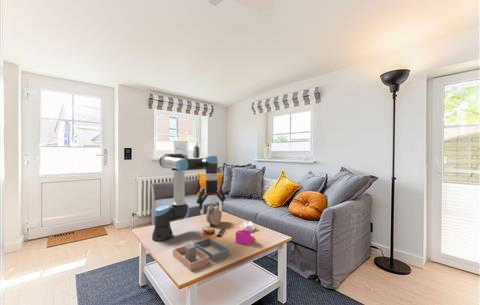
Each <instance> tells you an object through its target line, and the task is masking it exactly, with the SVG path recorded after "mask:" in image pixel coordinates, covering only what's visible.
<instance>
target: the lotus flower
mask: <svg viewBox="0 0 480 305" xmlns="http://www.w3.org/2000/svg"><path fill="white" fill-rule="evenodd" d="M238 226H239V227H240V229H241V230H243V229H249V230H251V232H253V231H254V230H256V227H255V225H254V223H253V222H252V221H250V220H247V219H244V220H243V221H241V224H238Z"/></svg>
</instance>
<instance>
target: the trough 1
mask: <svg viewBox="0 0 480 305" xmlns="http://www.w3.org/2000/svg"><path fill="white" fill-rule="evenodd" d="M190 244H191V243H188V244H185V245H183V246H178V247H175V248H173V249H172V257H173V258H175V259H176V260H177V261H178V262H180V263H181V264H182V265H183V266H184V267H186V268H187V270H189V271H191V272H192V271H194V270H196V269H199V268H201V267H205V266H206V265H209V264H210V259H209V256H208V255H206V254H205V253H203V252H202V251H200V250H199V249H197V248H196V257H197V258H200V259H198V260H194V261H191V262H189V261H188V260H187V259H186V258H185V256H183V253H185V246H187V245H190Z"/></svg>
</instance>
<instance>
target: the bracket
mask: <svg viewBox="0 0 480 305" xmlns="http://www.w3.org/2000/svg"><path fill="white" fill-rule="evenodd" d="M252 232H253V231H251V230H249V229H241V230H239V229H238V230H237V231H236V232H235V244H240V245H245V246H250V245H251V243H252V242H253V240H254V239H255V237H254V236H252Z"/></svg>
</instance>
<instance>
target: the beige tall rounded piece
mask: <svg viewBox="0 0 480 305" xmlns="http://www.w3.org/2000/svg"><path fill="white" fill-rule="evenodd" d="M213 200H214V202H213ZM210 203H211V204H210V205H208V207H207V210H206V213H205V214H206V215H205V216H206V217H205V218H206V222H207V223H208V224H210V226H215V227H216V226H219V225H220V224H221V221H222V217H223V216H222V214H223V213H222V212H223V210H222V211H219V203H217V202H216V200H215V198H212V200H211V202H210Z"/></svg>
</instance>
